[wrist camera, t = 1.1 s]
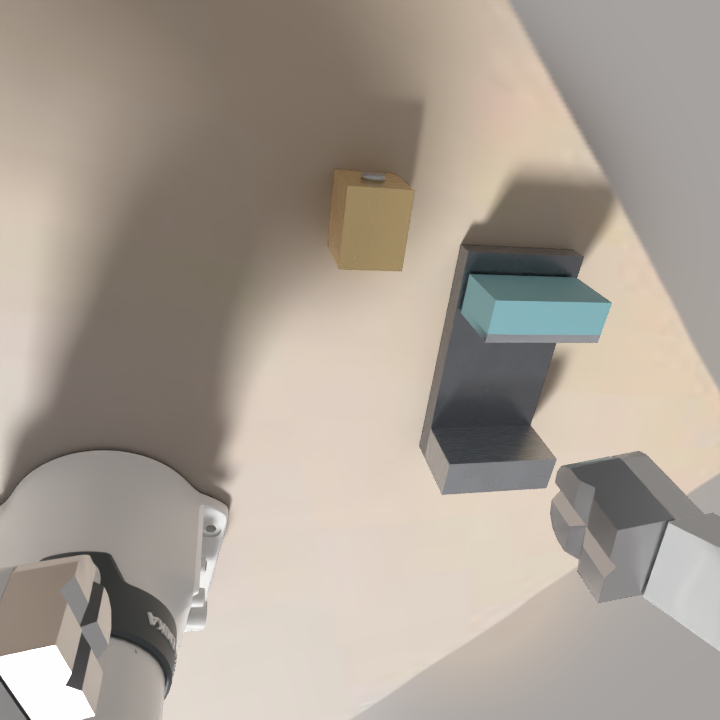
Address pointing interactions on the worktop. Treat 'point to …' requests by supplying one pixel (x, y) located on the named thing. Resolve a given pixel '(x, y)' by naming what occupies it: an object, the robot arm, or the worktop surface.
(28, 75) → the worktop surface
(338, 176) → the tan short block
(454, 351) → the press bed
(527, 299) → the block
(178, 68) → the worktop surface
